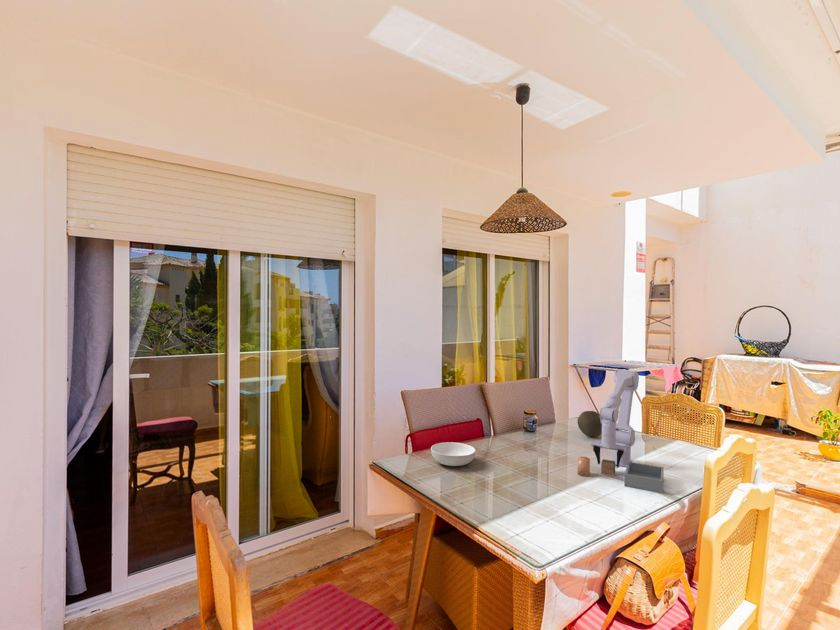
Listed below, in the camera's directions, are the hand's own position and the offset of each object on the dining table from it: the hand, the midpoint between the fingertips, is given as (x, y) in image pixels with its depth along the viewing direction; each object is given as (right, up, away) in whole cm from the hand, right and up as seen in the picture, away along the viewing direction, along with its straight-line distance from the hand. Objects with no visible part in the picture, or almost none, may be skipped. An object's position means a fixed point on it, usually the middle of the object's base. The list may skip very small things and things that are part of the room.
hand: (608, 465), depth 191 cm
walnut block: (0, -4, 0) cm, 4 cm away
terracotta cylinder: (-12, -3, -2) cm, 12 cm away
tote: (+10, -4, -11) cm, 15 cm away
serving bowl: (-68, -3, +10) cm, 69 cm away
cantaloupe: (+14, -4, +56) cm, 57 cm away
